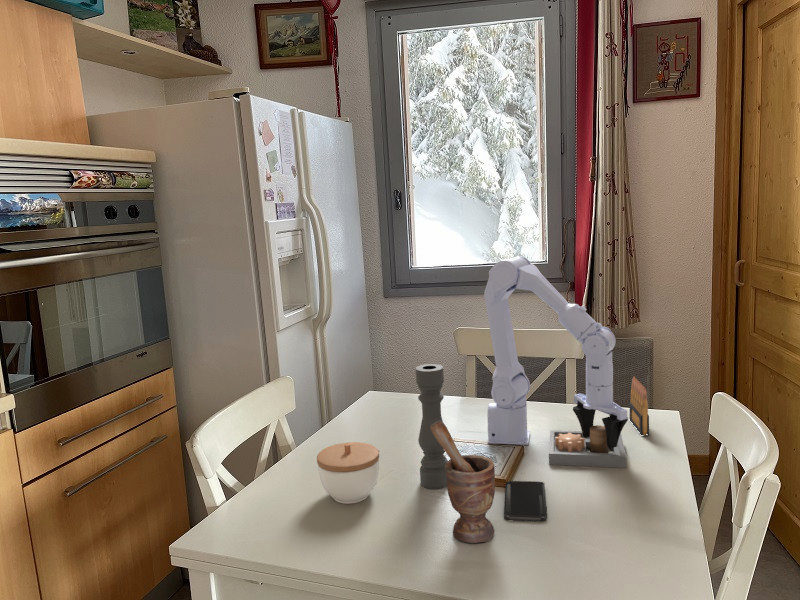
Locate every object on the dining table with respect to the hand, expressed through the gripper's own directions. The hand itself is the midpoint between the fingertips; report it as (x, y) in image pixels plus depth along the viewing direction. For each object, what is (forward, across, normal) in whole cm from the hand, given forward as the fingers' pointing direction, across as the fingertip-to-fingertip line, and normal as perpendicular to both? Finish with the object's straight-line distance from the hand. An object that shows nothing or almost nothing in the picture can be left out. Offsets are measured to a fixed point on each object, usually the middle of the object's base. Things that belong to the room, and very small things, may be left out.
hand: (599, 441), depth 146 cm
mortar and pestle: (+3, +12, -44) cm, 46 cm away
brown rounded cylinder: (+3, 0, 0) cm, 3 cm away
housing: (+3, -2, -2) cm, 4 cm away
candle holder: (+3, -8, -38) cm, 39 cm away
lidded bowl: (+3, -12, -56) cm, 57 cm away
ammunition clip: (+3, -6, +19) cm, 20 cm away
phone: (+3, +9, -28) cm, 29 cm away
